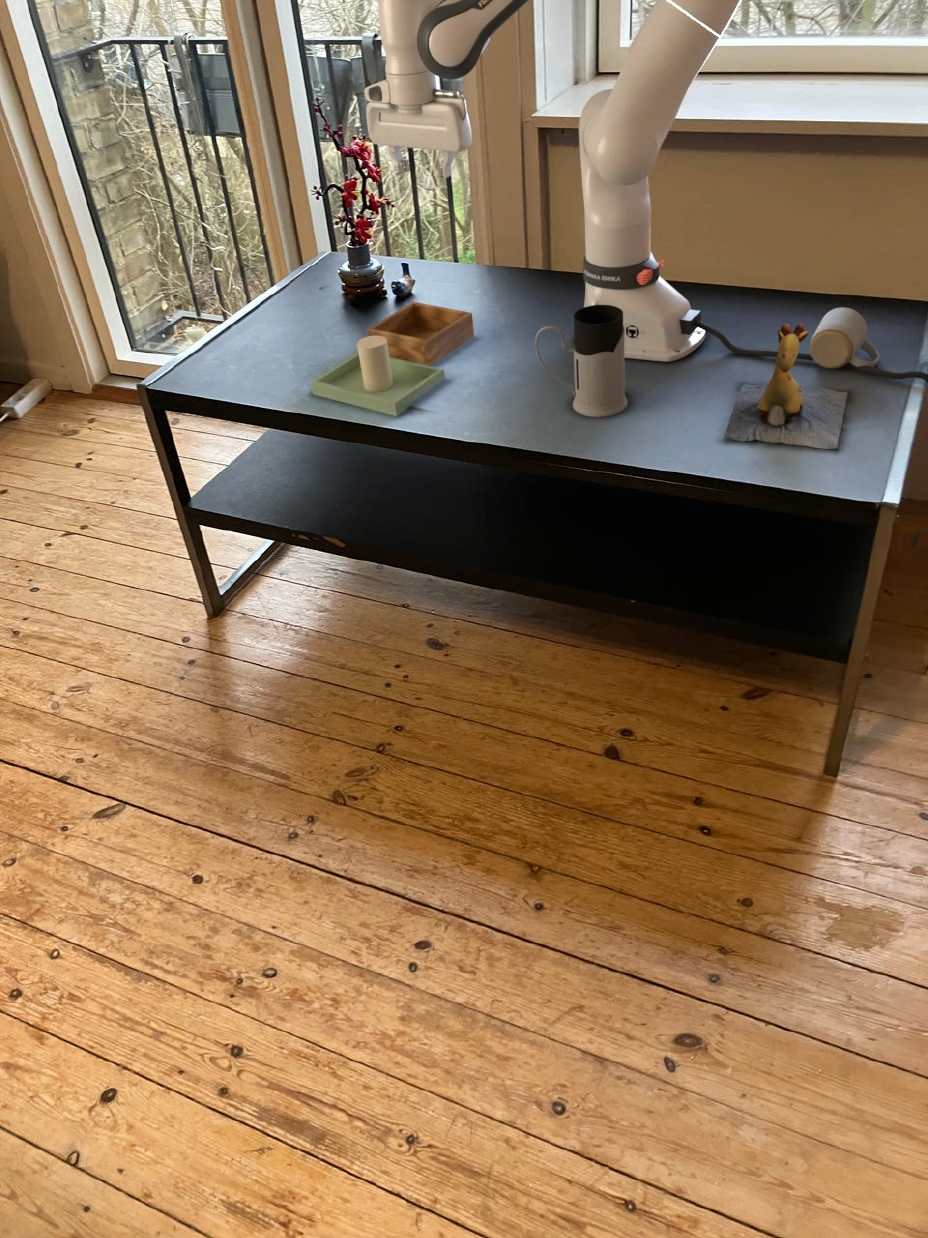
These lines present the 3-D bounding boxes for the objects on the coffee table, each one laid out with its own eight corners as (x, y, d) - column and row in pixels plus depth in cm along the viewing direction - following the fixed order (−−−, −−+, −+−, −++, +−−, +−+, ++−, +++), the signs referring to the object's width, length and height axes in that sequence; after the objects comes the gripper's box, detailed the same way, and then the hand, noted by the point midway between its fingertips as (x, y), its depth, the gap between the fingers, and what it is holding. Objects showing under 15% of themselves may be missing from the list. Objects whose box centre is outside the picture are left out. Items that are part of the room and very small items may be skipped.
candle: (398, 381, 180) (392, 338, 175) (380, 394, 177) (373, 350, 172) (376, 376, 182) (369, 333, 177) (358, 388, 179) (350, 344, 174)
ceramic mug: (804, 368, 170) (810, 323, 165) (817, 347, 176) (823, 303, 171) (871, 378, 166) (879, 332, 161) (882, 356, 171) (891, 311, 166)
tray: (445, 382, 179) (444, 369, 178) (396, 416, 171) (394, 403, 170) (363, 362, 189) (361, 350, 187) (313, 394, 181) (310, 381, 179)
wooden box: (474, 339, 192) (471, 312, 189) (430, 369, 184) (426, 342, 181) (416, 327, 199) (412, 301, 196) (371, 355, 191) (367, 329, 188)
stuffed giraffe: (723, 438, 155) (735, 336, 145) (742, 387, 168) (754, 290, 158) (836, 452, 150) (855, 347, 140) (846, 398, 163) (865, 299, 154)
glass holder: (630, 414, 164) (630, 323, 155) (540, 421, 165) (534, 331, 156) (624, 389, 171) (624, 300, 162) (538, 395, 172) (532, 308, 163)
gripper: (475, 85, 171) (482, 173, 180) (379, 80, 181) (390, 163, 190) (452, 95, 167) (461, 184, 176) (356, 89, 178) (368, 174, 186)
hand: (423, 173), depth 183 cm, fingers open, 8 cm apart
